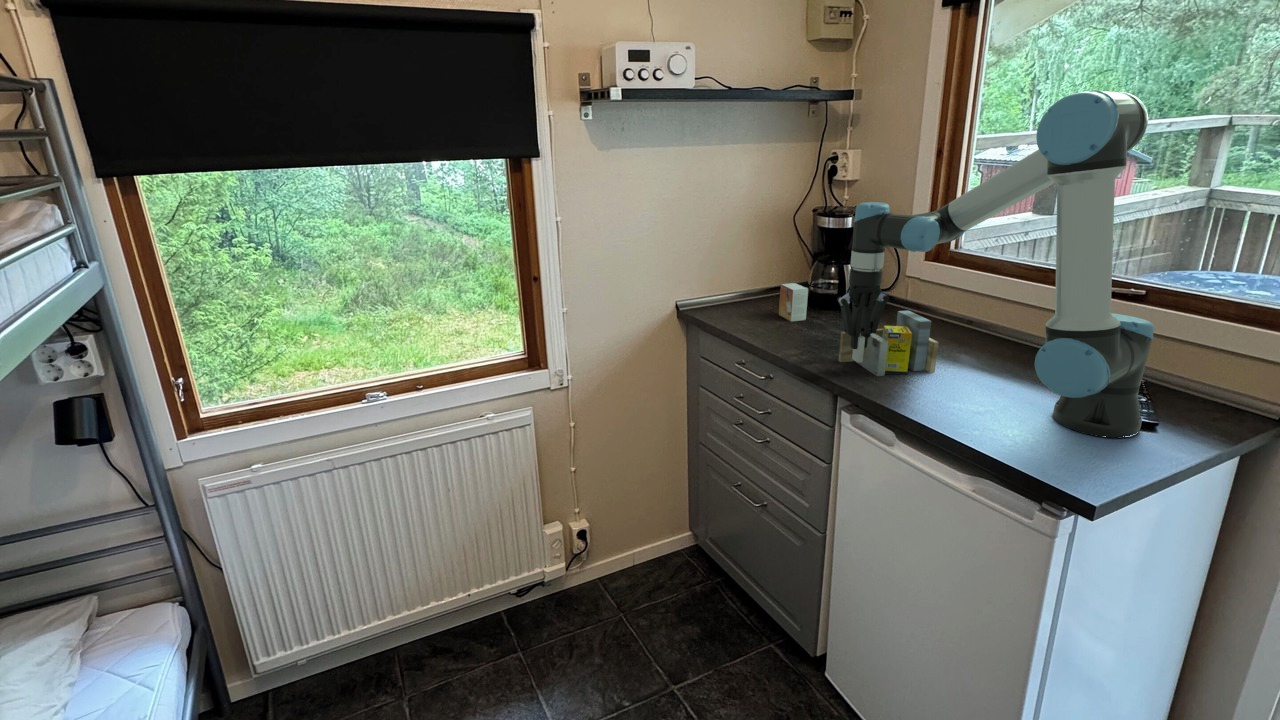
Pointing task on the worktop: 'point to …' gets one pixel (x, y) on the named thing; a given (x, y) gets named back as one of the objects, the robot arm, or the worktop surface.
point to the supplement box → (897, 348)
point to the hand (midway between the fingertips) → (857, 360)
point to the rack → (921, 344)
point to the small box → (793, 302)
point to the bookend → (875, 355)
